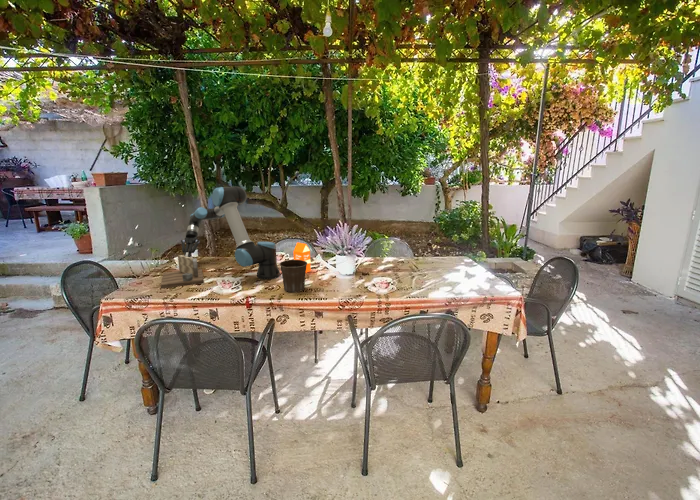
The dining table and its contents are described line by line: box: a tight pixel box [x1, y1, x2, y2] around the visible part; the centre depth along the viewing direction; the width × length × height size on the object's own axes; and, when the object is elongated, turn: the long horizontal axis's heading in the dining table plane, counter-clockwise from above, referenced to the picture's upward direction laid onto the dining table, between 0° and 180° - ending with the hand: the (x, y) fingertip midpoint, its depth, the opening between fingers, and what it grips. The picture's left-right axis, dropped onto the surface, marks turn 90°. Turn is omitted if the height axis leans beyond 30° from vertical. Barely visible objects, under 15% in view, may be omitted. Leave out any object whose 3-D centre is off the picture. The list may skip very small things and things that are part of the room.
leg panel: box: [177, 254, 194, 276], centre depth 241 cm, size 17×2×11 cm, turn 54°
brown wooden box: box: [160, 257, 205, 289], centre depth 236 cm, size 28×24×14 cm
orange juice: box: [292, 242, 312, 274], centre depth 253 cm, size 8×9×20 cm
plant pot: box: [279, 259, 307, 293], centre depth 217 cm, size 16×16×16 cm
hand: (186, 261), depth 252 cm, fingers closed
